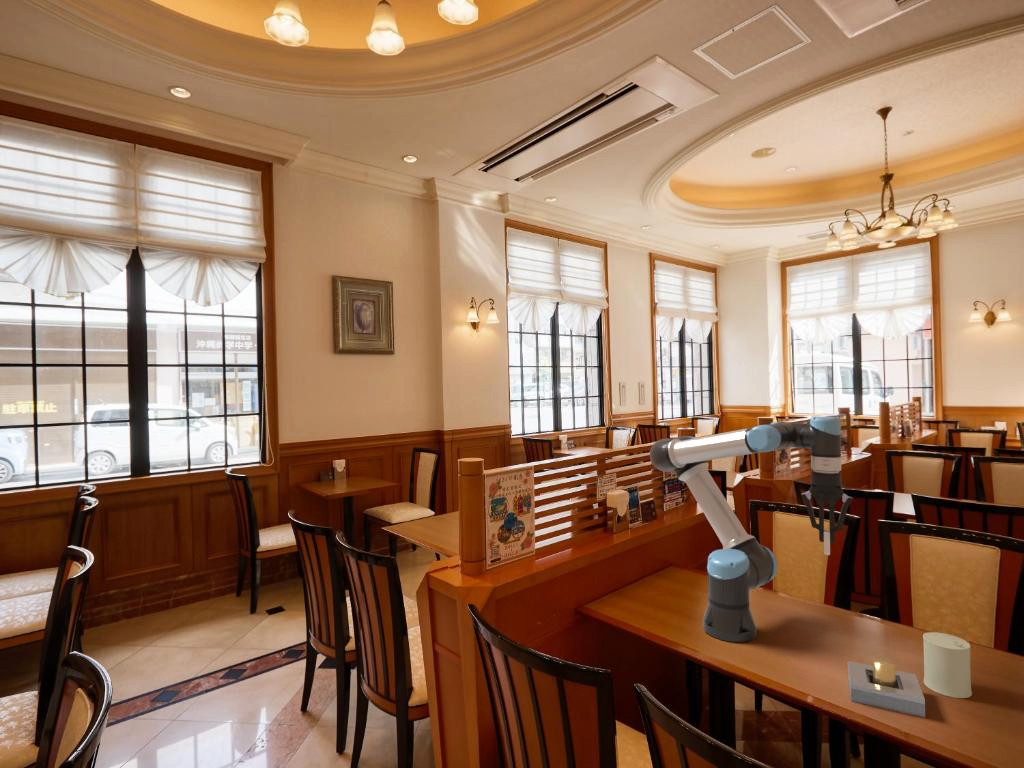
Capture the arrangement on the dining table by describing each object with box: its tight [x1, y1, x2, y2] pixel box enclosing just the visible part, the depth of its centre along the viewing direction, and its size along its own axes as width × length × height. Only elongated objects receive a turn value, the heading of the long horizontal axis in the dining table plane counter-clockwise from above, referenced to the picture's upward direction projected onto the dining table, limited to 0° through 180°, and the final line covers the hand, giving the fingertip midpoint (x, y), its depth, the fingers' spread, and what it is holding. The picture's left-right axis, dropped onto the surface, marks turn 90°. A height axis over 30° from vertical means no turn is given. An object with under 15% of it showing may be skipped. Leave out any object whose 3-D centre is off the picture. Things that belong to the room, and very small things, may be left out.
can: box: [922, 631, 973, 699], centre depth 132 cm, size 9×9×12 cm
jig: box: [847, 660, 926, 719], centre depth 129 cm, size 14×12×4 cm
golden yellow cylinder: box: [872, 657, 896, 688], centre depth 129 cm, size 4×4×8 cm
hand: (827, 553), depth 155 cm, fingers closed
